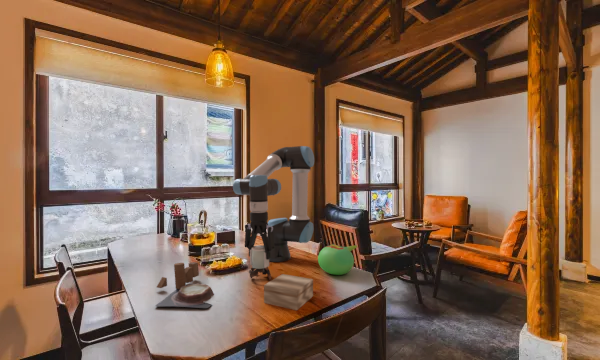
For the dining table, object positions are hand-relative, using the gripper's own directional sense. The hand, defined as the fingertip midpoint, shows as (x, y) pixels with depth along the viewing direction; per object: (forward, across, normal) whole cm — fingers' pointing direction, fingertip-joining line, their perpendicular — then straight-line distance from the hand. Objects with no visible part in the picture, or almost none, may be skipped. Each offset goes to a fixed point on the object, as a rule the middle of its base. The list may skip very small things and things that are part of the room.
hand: (259, 265), depth 121 cm
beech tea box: (+10, +16, -3) cm, 20 cm away
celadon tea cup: (0, 0, 0) cm, 0 cm away
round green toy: (+11, +21, +34) cm, 42 cm away
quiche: (+11, -19, -19) cm, 29 cm away
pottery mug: (+11, -6, +12) cm, 17 cm away
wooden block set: (+10, -32, -14) cm, 36 cm away
